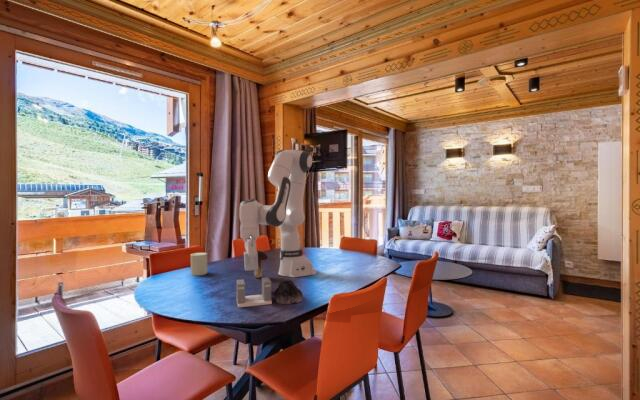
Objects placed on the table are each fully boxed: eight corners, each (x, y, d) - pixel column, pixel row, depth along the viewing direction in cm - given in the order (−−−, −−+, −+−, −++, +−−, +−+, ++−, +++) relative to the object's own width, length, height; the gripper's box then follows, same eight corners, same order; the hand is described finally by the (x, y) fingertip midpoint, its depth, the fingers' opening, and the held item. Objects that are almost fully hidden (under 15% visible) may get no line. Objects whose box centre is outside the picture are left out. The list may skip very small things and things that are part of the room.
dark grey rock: (289, 294, 151) (286, 273, 151) (311, 298, 142) (308, 275, 142) (267, 304, 140) (264, 282, 140) (289, 309, 132) (286, 285, 131)
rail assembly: (268, 295, 146) (267, 276, 146) (271, 303, 136) (271, 282, 136) (236, 299, 142) (236, 278, 142) (237, 307, 132) (237, 285, 131)
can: (191, 272, 190) (190, 252, 190) (207, 271, 193) (207, 251, 193) (189, 276, 182) (189, 255, 181) (207, 274, 184) (206, 254, 184)
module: (257, 266, 156) (256, 250, 156) (258, 269, 151) (257, 252, 151) (244, 268, 154) (243, 251, 154) (245, 270, 149) (244, 253, 149)
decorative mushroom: (264, 280, 172) (264, 252, 172) (245, 279, 174) (244, 252, 173) (270, 275, 183) (270, 249, 182) (252, 274, 184) (252, 248, 184)
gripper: (259, 236, 143) (260, 266, 144) (254, 230, 162) (255, 257, 163) (244, 237, 141) (246, 268, 142) (241, 231, 161) (242, 258, 161)
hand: (251, 262), depth 153 cm, fingers closed on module, 5 cm apart
